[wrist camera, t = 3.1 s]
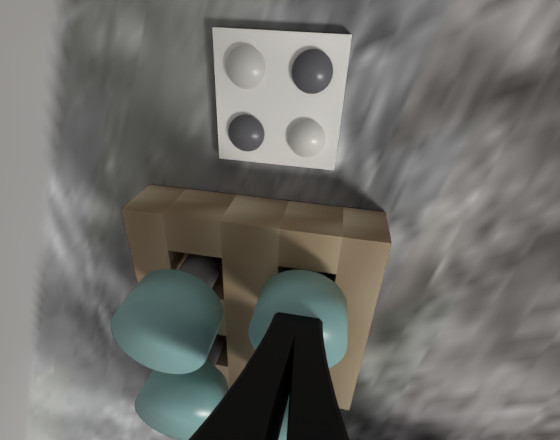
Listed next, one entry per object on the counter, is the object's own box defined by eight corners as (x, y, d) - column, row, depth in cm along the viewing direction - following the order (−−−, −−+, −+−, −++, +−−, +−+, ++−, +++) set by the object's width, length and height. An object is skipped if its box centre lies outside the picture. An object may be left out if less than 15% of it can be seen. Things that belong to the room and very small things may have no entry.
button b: (241, 320, 14) (212, 400, 11) (242, 366, 16) (217, 447, 13) (172, 308, 15) (127, 383, 12) (180, 355, 16) (142, 431, 13)
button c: (353, 241, 12) (354, 312, 9) (342, 302, 14) (340, 379, 11) (271, 230, 13) (248, 295, 10) (269, 291, 14) (248, 362, 11)
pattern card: (351, 34, 10) (352, 35, 9) (334, 167, 12) (334, 171, 11) (215, 26, 10) (210, 27, 10) (221, 155, 12) (218, 159, 12)
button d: (239, 240, 12) (203, 312, 9) (240, 302, 14) (210, 381, 11) (159, 229, 13) (100, 295, 10) (169, 291, 14) (121, 364, 11)
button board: (385, 211, 12) (391, 243, 11) (349, 370, 17) (349, 410, 15) (149, 184, 13) (121, 208, 12) (176, 340, 18) (158, 374, 16)
